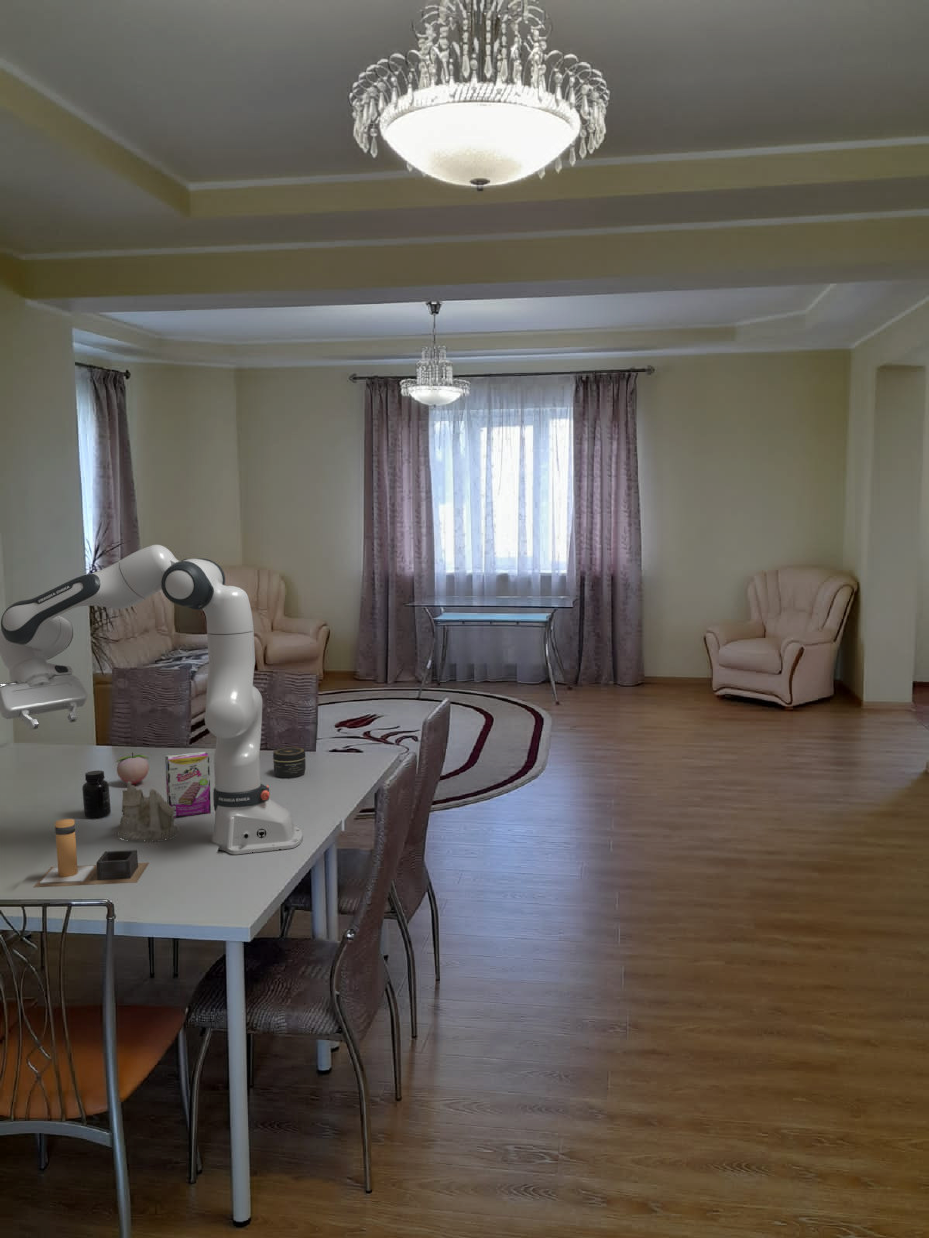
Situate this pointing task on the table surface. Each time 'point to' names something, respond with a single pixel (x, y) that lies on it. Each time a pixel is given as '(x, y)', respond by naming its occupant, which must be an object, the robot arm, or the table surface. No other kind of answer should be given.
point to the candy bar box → (188, 783)
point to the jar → (289, 762)
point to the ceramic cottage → (146, 816)
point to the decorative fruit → (132, 768)
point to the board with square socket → (100, 871)
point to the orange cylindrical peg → (66, 847)
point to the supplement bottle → (96, 795)
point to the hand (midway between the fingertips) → (54, 723)
